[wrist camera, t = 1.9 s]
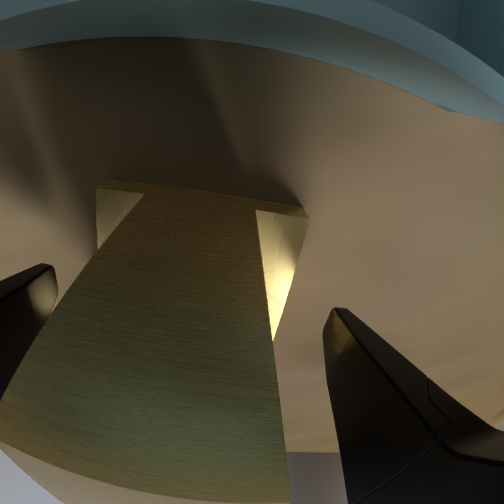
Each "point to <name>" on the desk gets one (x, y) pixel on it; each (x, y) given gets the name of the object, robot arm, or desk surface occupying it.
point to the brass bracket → (162, 356)
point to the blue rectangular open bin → (307, 36)
